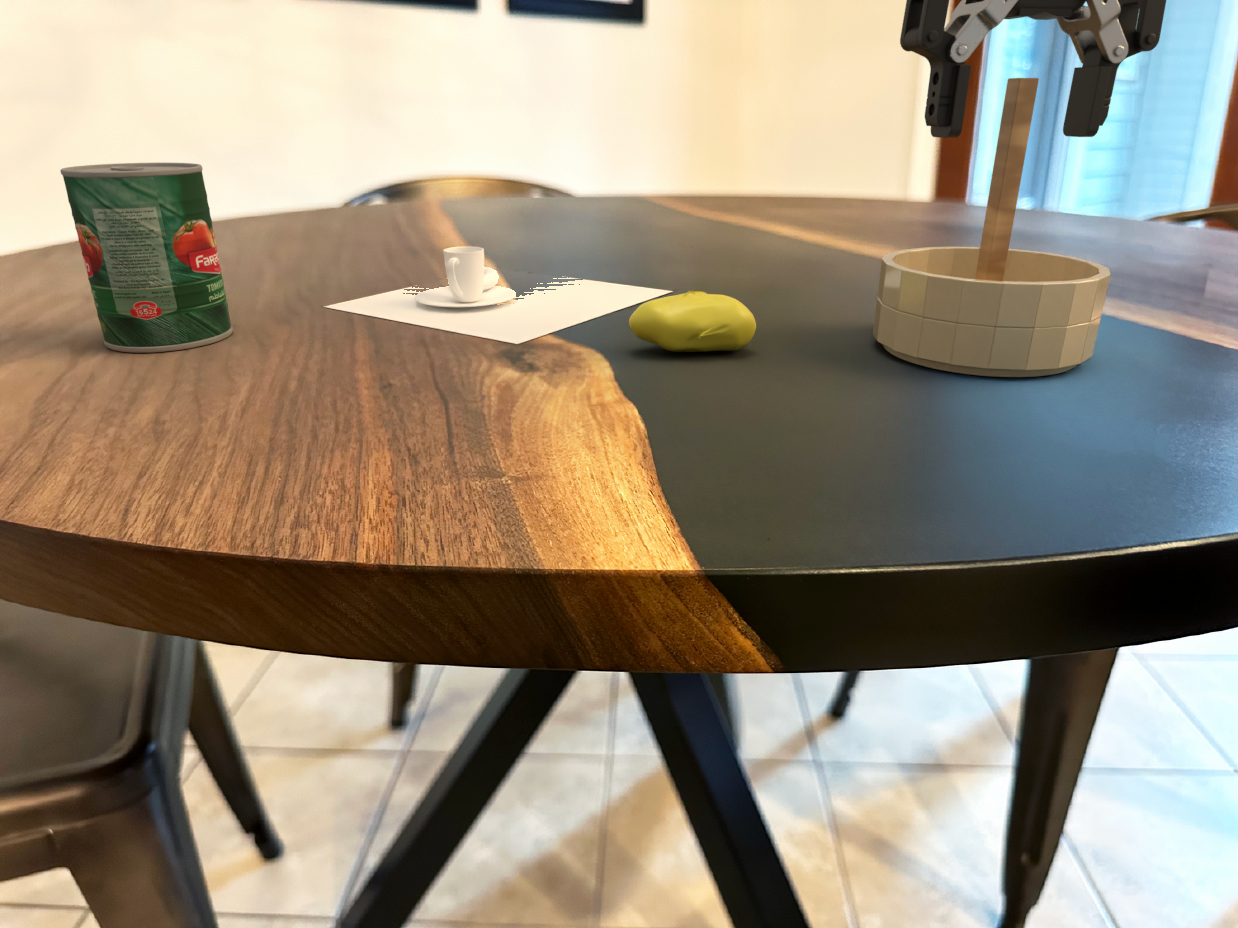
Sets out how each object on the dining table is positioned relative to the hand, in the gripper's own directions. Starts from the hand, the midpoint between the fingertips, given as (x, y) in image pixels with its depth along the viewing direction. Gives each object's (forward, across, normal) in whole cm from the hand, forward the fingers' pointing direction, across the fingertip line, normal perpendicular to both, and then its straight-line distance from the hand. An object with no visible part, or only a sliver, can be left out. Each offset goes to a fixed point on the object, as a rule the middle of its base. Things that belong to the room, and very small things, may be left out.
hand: (1013, 137), depth 48 cm
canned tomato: (+13, -52, +13) cm, 55 cm away
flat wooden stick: (+12, 0, 0) cm, 12 cm away
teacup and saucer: (+13, -29, +21) cm, 38 cm away
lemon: (+13, -18, +3) cm, 22 cm away
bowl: (+13, 0, 0) cm, 13 cm away
